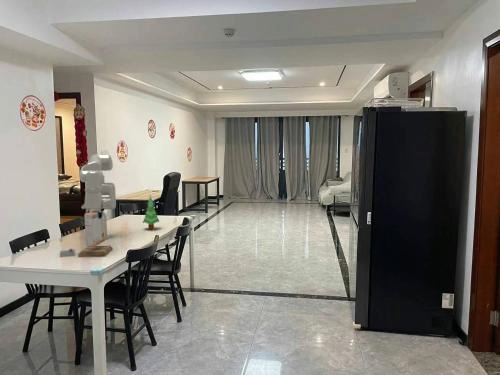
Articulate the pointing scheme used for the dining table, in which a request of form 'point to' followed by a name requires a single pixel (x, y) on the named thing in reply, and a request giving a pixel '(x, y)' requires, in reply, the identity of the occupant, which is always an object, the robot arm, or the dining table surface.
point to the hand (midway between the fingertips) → (94, 218)
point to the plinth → (95, 251)
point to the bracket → (67, 253)
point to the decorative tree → (150, 215)
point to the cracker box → (94, 228)
